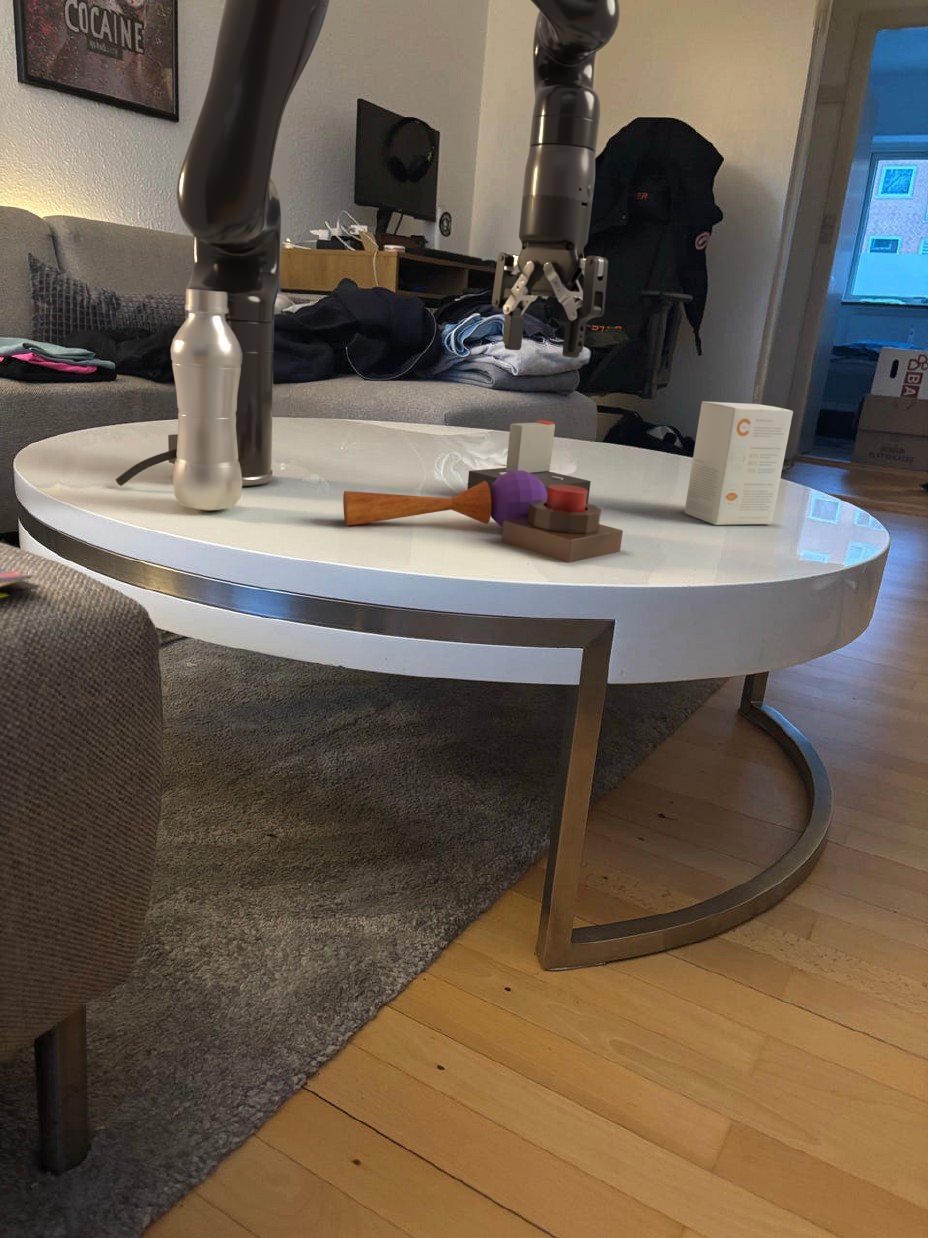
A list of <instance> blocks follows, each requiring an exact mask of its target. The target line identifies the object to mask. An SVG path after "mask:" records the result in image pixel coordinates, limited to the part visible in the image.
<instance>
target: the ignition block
mask: <svg viewBox="0 0 928 1238" xmlns="http://www.w3.org/2000/svg"><path fill="white" fill-rule="evenodd" d="M546 504H547V499H540V500H533V501H532V502H531V503H530V506H529V515H528V517H525V518H518V519H512V520H505V521H503V528H502V531H501V539H500V542H501V543H503V544H505V545H509V546H512V547H515V548H517V549H518V548H519V549H520V550H521V549H522V550H525V551H527V552H531V553H535V554H537V555H541V556H544V557H547V558H551V559H554V560H557V561H561V562H563V563H567V564H569V563H574V562H579V561H584V560H589V559H594V558H598V557H602V556H603V557H604V556H607V555H613V554H617V553H620V552H621V547H622V540H623V532H624V530H623V529H619V528H615V527H612V526H608V525H605V524H602V523H601V519H602V518H601V516H602V509H601V508H600V507H597V506H596V505H594V504H590V503H588V504H586V506H585V511H581V512H572V511H562V510H555V509H551V508H548V507H546Z"/></svg>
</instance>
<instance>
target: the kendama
mask: <svg viewBox="0 0 928 1238" xmlns="http://www.w3.org/2000/svg"><path fill="white" fill-rule="evenodd" d="M342 494H343V495H342V501H343V502H342V505H343V519H344V524H345V525H346V527H351V526H358V525H365V524H368V523H369V524H371V523H376V522H382V521H389V520H395V519H402V518H407V517H414V516H419V515H420V516H421V515H427V514H432V513H433V514H434V513H439V512H445V511H454V512H456V513H458V514H460V515H464V516H466V517H468V518H470V519H473V520H476V521H477V522H480V523H483V524H484V525H487V524H489V522H490V520H491V519H492V520H493V521H494V522H495V523H496V524H497V525H498V526H500V528H502V529H503V521H505V520H512V519H518V518H525V517H528V515H529V506H530V503H531V502H532V501H533V500H540V499H547V492H546V488H545V486H544V484H543V483H542V482H541V481H540V480H539V479H538V478H537V477H536V476H535V475H533V474H531V473H528V472H526V471H523V470H516V471H509V472H507V473H505V474H503V475H501V476H499V477H498V478H497V479H496V480H495V481H494V483H493V484H492V485H491V486H490V489H489V485H488V483H487V482H486V481H483V482H481V483H479V484H477V485H476V486H474V487H472V488H470V489H468V490H467V489H466V490H464V491H462V492H460V493H458V494H456V495H454V496H452V497H439V496H438V497H437V496H422V495H408V494H394V493H382V492H381V493H379V492H366V491H365V492H364V491H352V490H351V491H350V490H344V491H343V493H342Z"/></svg>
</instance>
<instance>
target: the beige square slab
mask: <svg viewBox="0 0 928 1238" xmlns="http://www.w3.org/2000/svg"><path fill="white" fill-rule="evenodd" d="M509 425H510V426H509V435H508V444H507V456H506V464H505V465H506V466H505V468H506V472H509V471H516V470H523V471H526V472H528V473H534V472H545V471H549V472H551V470H550V468H551V464H552V456H553V455H552V454H553V446H554V438H555V431H556V429H555V428H556V424H555V423H554V422H553V421H548V420H538V421H537V422H520V423H519V422H518V423H510V424H509Z"/></svg>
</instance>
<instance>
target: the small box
mask: <svg viewBox="0 0 928 1238" xmlns="http://www.w3.org/2000/svg"><path fill="white" fill-rule="evenodd" d="M793 415H794V411H793V410H792V409H791V410H790V409H787V408H782V407H779V406H778V407H777V406H772V405H766V404H760V403H742V402H722V401H721V402H719V401H704V400H703V401H701V405H700V410H699V418H698V424H697V431H696V437H695V443H694V449H693V455H692V462H691V469H690V475H689V481H688V489H687V495H686V501H685V507H684V513H685V515H687V516H691V517H692V518H693V517H694V518H696V519H698V520H701V521H703V522H706V523H709V524H711V525H715V526H722V525H723V526H726V525H727V526H729V525H772V524H773V519H774V514H775V507H776V503H777V498H778V492H779V488H780V484H781V483H780V482H781V476H782V471H783V467H784V460H785V456H786V450H787V445H788V440H789V435H790V429H791V424H792V419H793Z"/></svg>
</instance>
